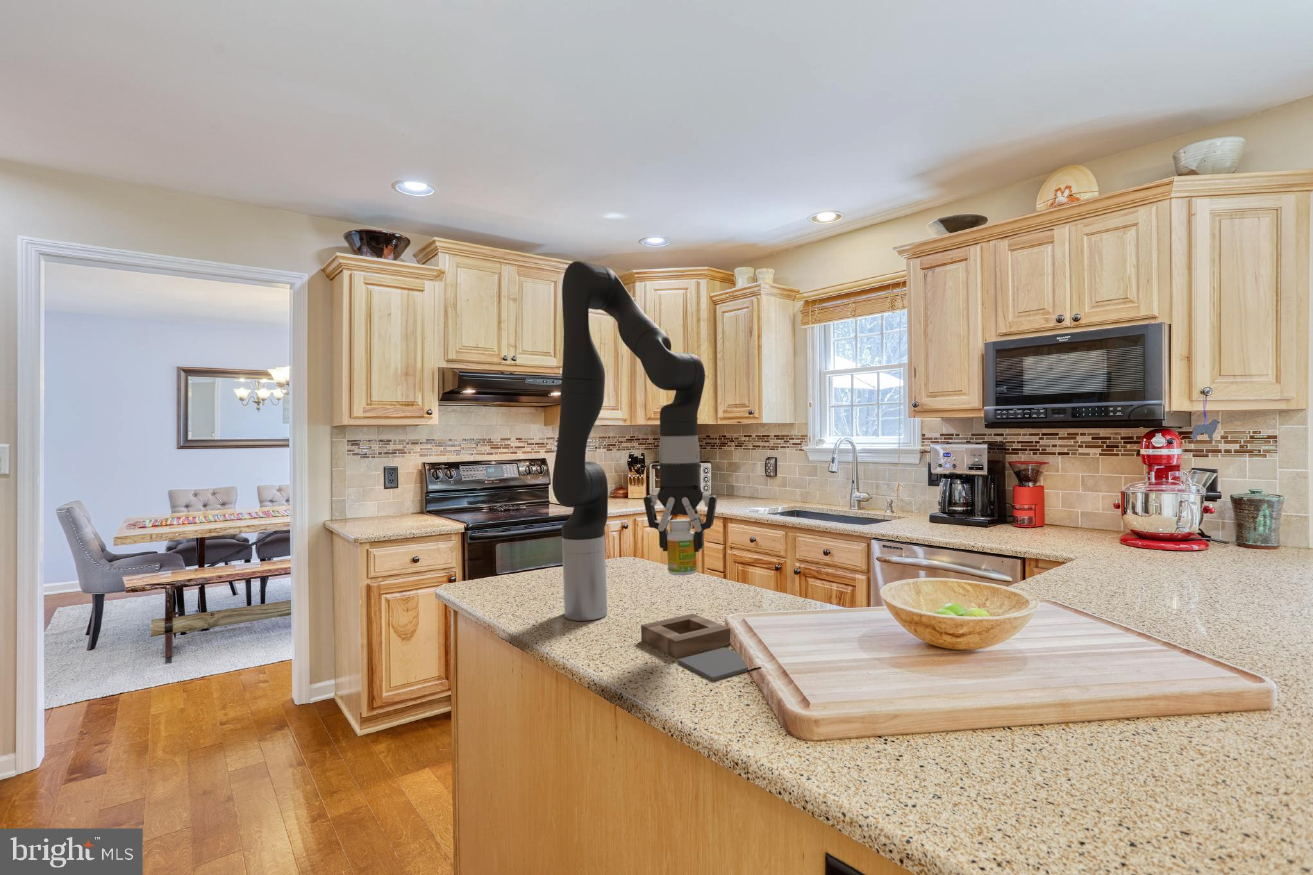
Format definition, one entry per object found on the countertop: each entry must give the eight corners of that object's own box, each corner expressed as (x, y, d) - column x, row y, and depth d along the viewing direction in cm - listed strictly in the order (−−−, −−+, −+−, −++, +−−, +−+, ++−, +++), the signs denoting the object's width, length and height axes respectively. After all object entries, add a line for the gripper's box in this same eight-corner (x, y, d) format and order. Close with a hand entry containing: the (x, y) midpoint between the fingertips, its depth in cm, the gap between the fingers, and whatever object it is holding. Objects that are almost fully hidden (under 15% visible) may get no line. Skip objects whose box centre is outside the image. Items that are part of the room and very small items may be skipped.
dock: (641, 640, 125) (640, 624, 125) (693, 628, 131) (692, 613, 131) (676, 658, 115) (675, 641, 115) (730, 644, 121) (730, 628, 121)
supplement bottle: (679, 577, 119) (676, 523, 119) (662, 572, 124) (660, 521, 123) (703, 572, 122) (700, 520, 122) (685, 568, 127) (683, 517, 126)
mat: (678, 662, 112) (677, 659, 112) (724, 650, 118) (724, 647, 118) (713, 681, 104) (713, 677, 104) (761, 666, 109) (761, 663, 109)
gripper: (720, 458, 124) (722, 548, 125) (646, 459, 128) (648, 546, 128) (715, 461, 117) (716, 556, 117) (636, 461, 120) (639, 554, 121)
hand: (681, 550), depth 123 cm, fingers closed on supplement bottle, 5 cm apart
